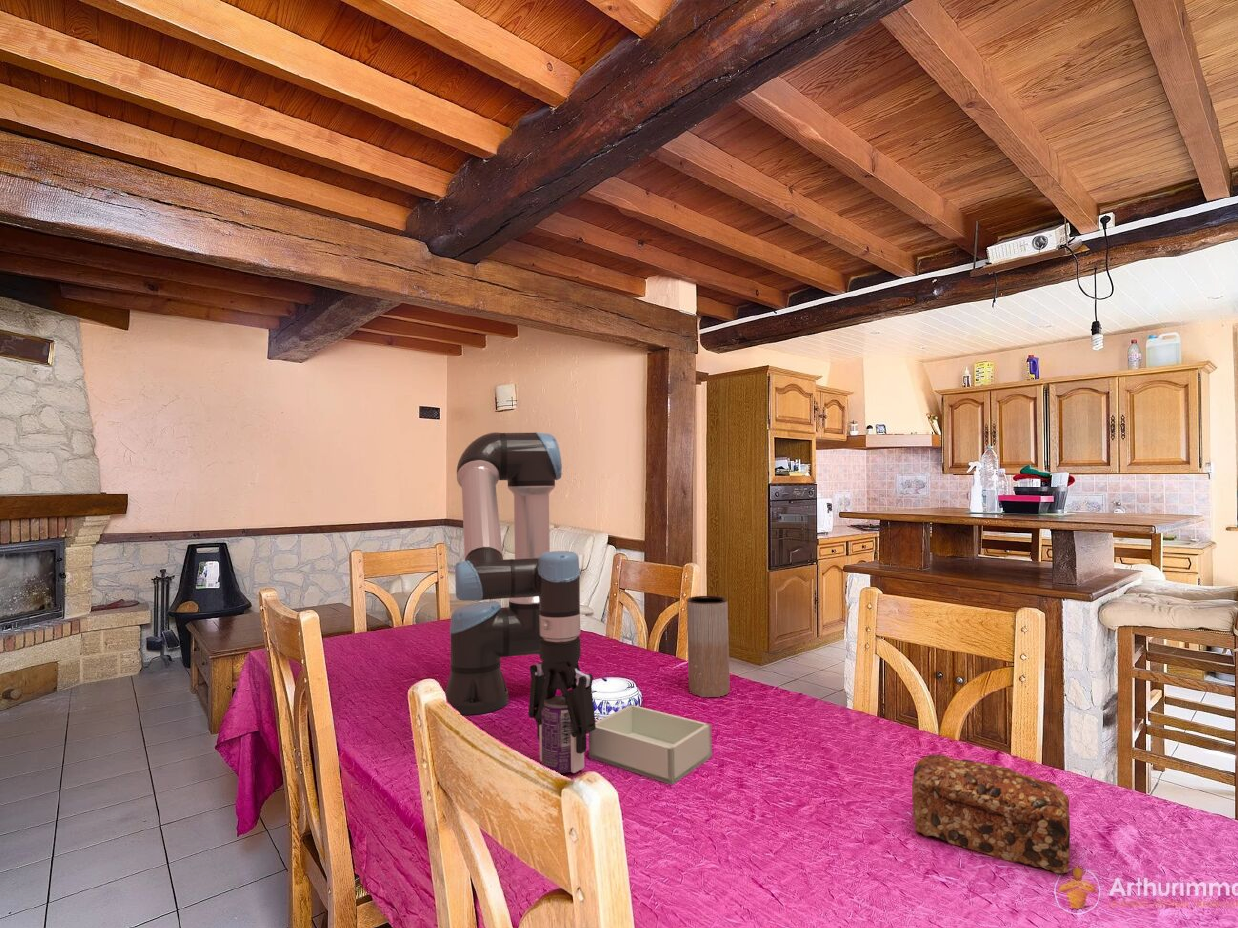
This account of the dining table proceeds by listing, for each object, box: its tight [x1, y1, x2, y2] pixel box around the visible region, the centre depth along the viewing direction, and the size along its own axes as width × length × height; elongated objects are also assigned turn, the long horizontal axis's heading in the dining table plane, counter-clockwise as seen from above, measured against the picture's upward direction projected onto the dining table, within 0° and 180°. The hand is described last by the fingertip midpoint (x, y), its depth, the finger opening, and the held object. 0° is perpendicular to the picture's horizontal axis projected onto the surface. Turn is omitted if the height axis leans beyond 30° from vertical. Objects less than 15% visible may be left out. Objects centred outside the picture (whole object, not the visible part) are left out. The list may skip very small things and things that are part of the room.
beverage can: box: [541, 694, 580, 774], centre depth 113 cm, size 7×7×12 cm
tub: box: [588, 704, 713, 786], centre depth 117 cm, size 19×14×6 cm
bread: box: [911, 753, 1071, 874], centre depth 88 cm, size 19×11×10 cm, turn 54°
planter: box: [686, 595, 731, 698], centre depth 153 cm, size 10×10×23 cm
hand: (561, 763), depth 113 cm, fingers closed on beverage can, 7 cm apart
